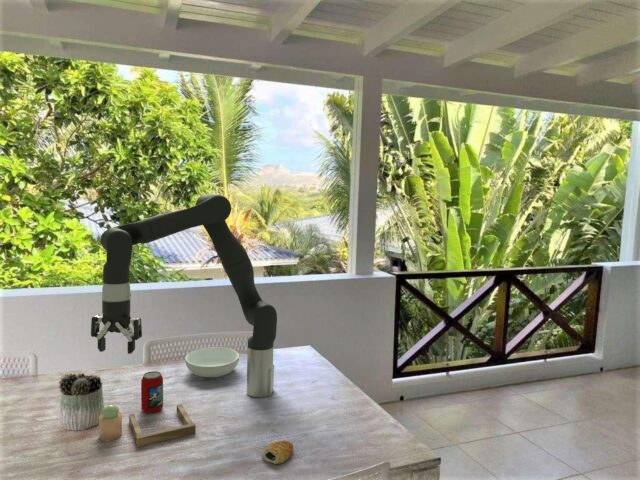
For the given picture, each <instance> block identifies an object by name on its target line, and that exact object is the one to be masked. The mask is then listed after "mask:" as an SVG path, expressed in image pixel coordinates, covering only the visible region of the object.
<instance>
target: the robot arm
mask: <svg viewBox="0 0 640 480" xmlns="http://www.w3.org/2000/svg"><path fill="white" fill-rule="evenodd" d="M231 212H232V204H231V202H230V200H229V199H228V198H227V197H226V196H224V195H222V194H217V193H216V194H215V193H214V194H213V193H206V194H202V195H200V196H199V197H198V198H197V200H196V201H195V205H194V206H190V207H187V208H184V209H183V208H182V209H179V210H174V211H169V212H165V213H160V214H157V215H153V216H150V217H147V218H143V219H140V220H138V221H136V222H132V223H131V222H129V223H126V224H121V225H117V226H113V227H110V228H107V229H106V230H105V231H103V233H102V234H101V235H100V239H99V240H100V241H99V242H100V244H101V245H100V246H101V247H102V248H103V249H104V250H105V251H106V258H105V259H106V260H105V263H104V264H103V266H102V267H103V268H102V288H101V303H102V304H101V310H102V311H101V312H102V315H100V314H96V315H93V316H92V317H91V322H90V323H91V324H90V325H91V326H90V336H91V337H92V338H93V337H94V338H96V339H97V349H98V351H99V352H105V350H106V341H107V339H106V338H107V337H106V335H107V334H108V333H117V334H120V333H121V334H122V335H123V337H125V338H126V339H127V355H131V354H132V353H133V352H134V351H135V350H136V341H137V340H139V339H140V338H142V337H143V330H142V318H141V317H137V318H132V317H131V296H132V294H131V284H130V277H131V276H130V274H131V273H130V265H131V261H132V256H133V255H132V254H133V246H135V245H139V244H148V243H152V242H155V241H157V240H160V239H161V240H162V239H163V238H166V237H170V236H171V235H175V234H177V233H180V232H183V231H185V230H189V229H191V228H196V227H200V226H203V228H204V229H205V231H206V232H207V234H208V236H209V238H210V240H211V242H212V245H213V247H214V249H215V252H216V254H217V256H218V258H219V261H220V263H221V265H222V268H223V269H224V272H225V274H226V276H227V278H228V279H229V281H230V284H231V286H232V289H233V290H234V291H235V294H236V296H237V298H238V301H239V304H240V306H241V310H242V313H243V316H244V318H245V320H246V321H247V323H248V324H249V325H251V326H253V328H252V336H250V337H248V339H247V355H246V359H247V360H246V361H247V362H246V365H247V366H246V394H247V395H248V396H250V397H252V398H266V397H271V396H272V394H273V392H274V386H275V385H274V381H275V380H274V379H275V377H274V376H275V374H274V372H275V364H274V343H275V340H276V337H277V328H278V327H277V325H278V313H277V310H276V308H275V307H274V306H273V305H271V304H270V303H267V302H265V301H264V300H263V299H262V297H261V295H260V294H259V292H258V290H257V288H256V285H255V271H254V267H253V263H252V262H251V259H250V257H249V255H248V252H247V251H246V248H245V247H244V246H243V244H242V243H241V242H240V241H239V239H238V238H237V237H236V236H235V235H234V234H233V232H232V231H231V229H230V228H229V226H228V224H227V221H226V220H227V219H229V217H230V215H231ZM101 323H102V324H103V325H104V326H103V327H102V328H101V330H100V326H101V325H100V324H101ZM130 325H131V326H132V327H131V326H130ZM132 328H133V329H132Z"/></svg>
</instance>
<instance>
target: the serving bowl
mask: <svg viewBox="0 0 640 480" xmlns="http://www.w3.org/2000/svg"><path fill="white" fill-rule="evenodd" d="M184 359H185V360H184V361H185V364H186V368H187V369H188V370H189V372H191V373H192V374H193V375H196V376H199V377H202V378H218V377H222V376H225V375H228V374H229V373H231V372H233V371H234V370H235V369H236V368H237V366H238V363H239V359H240V354H239V352H238V351H236V350H235V349H232V348H229V347H221V346H220V347H219V346H213V347H211V346H210V347H205V348H204V347H203V348H199V349H195V350H193V351H191V352H189V353H187V355H185V358H184Z"/></svg>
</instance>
